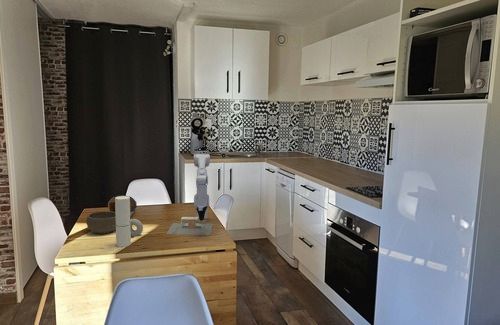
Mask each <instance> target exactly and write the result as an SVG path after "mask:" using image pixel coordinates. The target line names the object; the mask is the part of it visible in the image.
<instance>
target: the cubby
mask: <svg viewBox="0 0 500 325" xmlns="http://www.w3.org/2000/svg"><path fill="white" fill-rule="evenodd" d="M198 218H199V217H196V216H182V217H181V218H180V222H173V223H172V224H171V225H170V227H169V229H168V230H167V231H166V233H165V235H173V234H172V231H173V229H174V228H175V226H177V227H178V229H177V231H176V232H175V234H174V235H194V236H195V235H199V236H200V235H202V236H203V235H205V236H206V235H207V236H208V235H209V236H210V235H211V233H212V231H213V226H214V223H208V222H207V223H205V222H204V224H199V223H200V222H198V223H197V222H196V227H195V229H188V222H184V221H189V220H198Z"/></svg>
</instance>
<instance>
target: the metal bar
mask: <svg viewBox="0 0 500 325" xmlns="http://www.w3.org/2000/svg"><path fill="white" fill-rule="evenodd" d="M177 229H178V227H177V226H175V228H174V229H173V231H172V234H171V235H176V234H175V232H176V231H177Z"/></svg>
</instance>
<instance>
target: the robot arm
mask: <svg viewBox="0 0 500 325" xmlns="http://www.w3.org/2000/svg"><path fill="white" fill-rule="evenodd" d="M210 156H211V155H210V154H209V153H208V154H207V153H194V154H193V165H194V167H196V168H197V169H196V176H195V185H196V193H195V194H194V195H193V196H194V197H193V207H194V208H195V217H199V220H196V222H198V223H200V221H203V220H204V218H208V208H210V194H208V185H209V176H208V170H207V168H208V167H210V162H211V161H210V160H211V157H210ZM207 221H208V220H204V223H205V222H207Z"/></svg>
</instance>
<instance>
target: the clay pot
mask: <svg viewBox="0 0 500 325" xmlns="http://www.w3.org/2000/svg"><path fill="white" fill-rule="evenodd" d="M119 196H128V197H130V217H131V216H132V215H133V214H134V213H135V211H136V209H137V205H138V204H137V201H136V200H135V199H134V198H133V197H132V196H130V195H127V194H121V195H116V196H113V197H112V198H111V199H110V200H109V201H108V202H107V210H108V211H110V212H115V198H116V197H119Z"/></svg>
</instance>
